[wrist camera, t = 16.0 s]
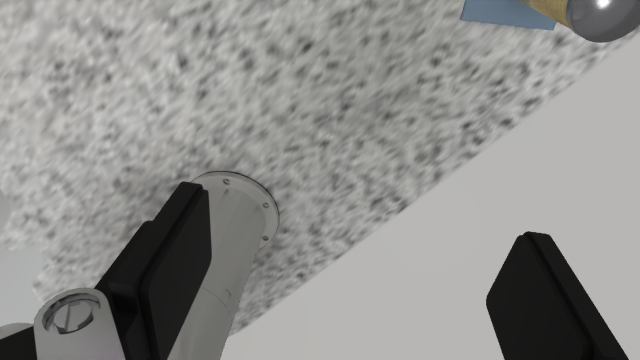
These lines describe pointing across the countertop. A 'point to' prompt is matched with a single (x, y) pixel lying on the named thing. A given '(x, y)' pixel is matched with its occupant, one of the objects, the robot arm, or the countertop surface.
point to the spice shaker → (592, 16)
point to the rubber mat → (506, 14)
